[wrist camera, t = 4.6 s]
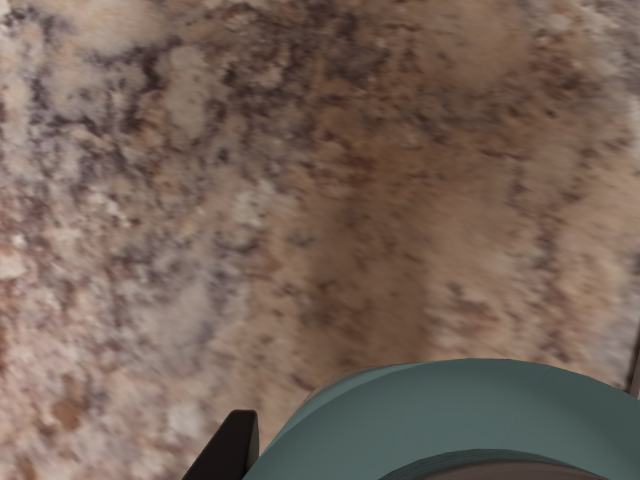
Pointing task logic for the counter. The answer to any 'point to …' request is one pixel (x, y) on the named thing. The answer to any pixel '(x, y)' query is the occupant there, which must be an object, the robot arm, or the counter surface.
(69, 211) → the counter surface
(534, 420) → the bottle
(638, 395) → the coaster
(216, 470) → the robot arm
